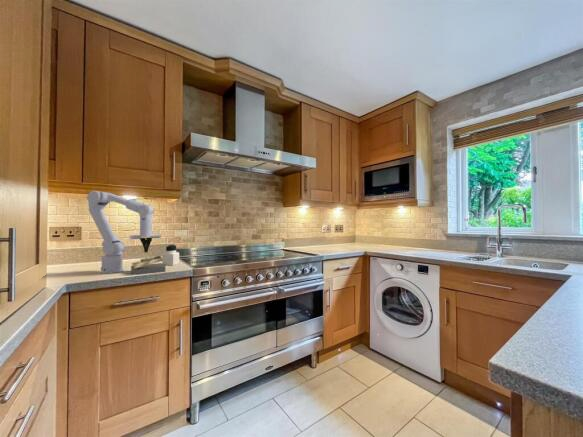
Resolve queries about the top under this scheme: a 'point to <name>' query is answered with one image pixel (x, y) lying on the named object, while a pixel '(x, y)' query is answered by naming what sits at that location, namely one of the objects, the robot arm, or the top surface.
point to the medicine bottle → (170, 256)
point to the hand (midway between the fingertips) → (146, 252)
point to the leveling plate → (147, 261)
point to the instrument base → (148, 269)
